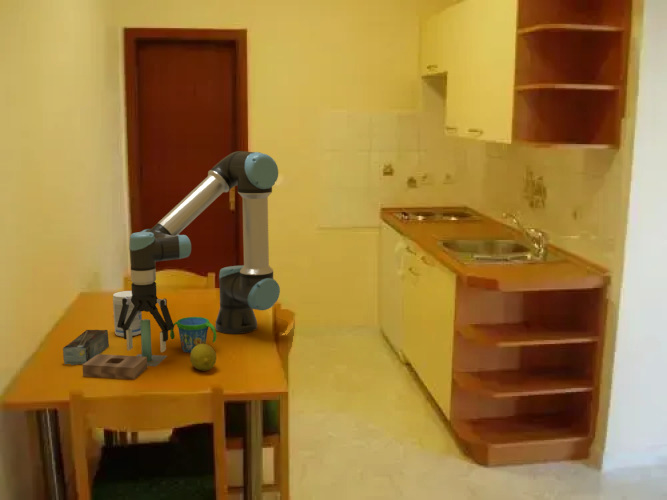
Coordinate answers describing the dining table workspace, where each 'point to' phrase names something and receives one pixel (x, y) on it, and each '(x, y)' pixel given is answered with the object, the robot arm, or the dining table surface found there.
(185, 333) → the snack cup
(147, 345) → the peg
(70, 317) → the dining table surface
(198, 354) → the lemon
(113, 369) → the block
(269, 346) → the dining table surface
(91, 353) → the beverage carton
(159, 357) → the mat
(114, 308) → the supplement tub
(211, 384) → the dining table surface
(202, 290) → the dining table surface
